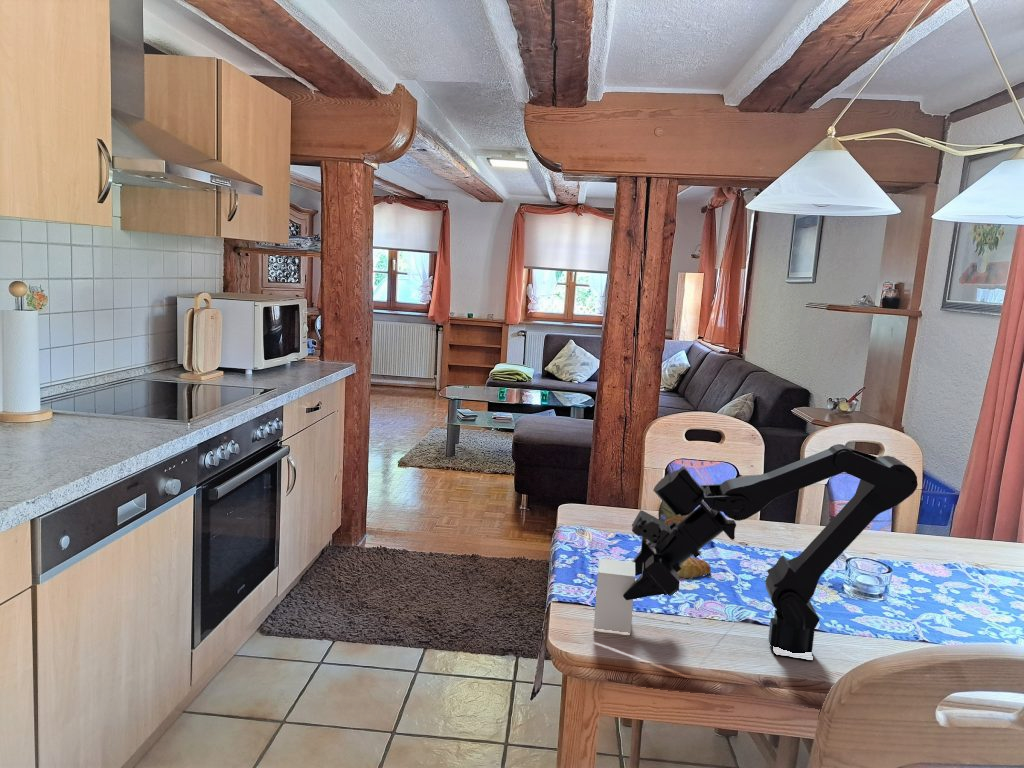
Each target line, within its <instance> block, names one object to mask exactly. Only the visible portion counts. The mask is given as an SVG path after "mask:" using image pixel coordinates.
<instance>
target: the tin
mask: <svg viewBox="0 0 1024 768" xmlns="http://www.w3.org/2000/svg"><path fill="white" fill-rule="evenodd" d="M692 512H693V511H692ZM692 512H691V513H692ZM688 515H689V514H688ZM688 515H686V516H684V515H683V516H681V515H680V514H679V515H675V514H674V513H673V512H672V511H671V510H670V509H669V507H668V506H667V505H666V504H665V503H664V502H663V501H662V500H661V502H660V504H659V507H658V514H657V516H658V519H659V520H661V521H662V522H664V523H665V524H667V525H669V524H670V523H671V522H673V521H674V522H675V521H677V522H678V523H679V522H680V521H682V520H683V519H684V518H685V517H687V516H688Z"/></svg>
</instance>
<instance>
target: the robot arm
mask: <svg viewBox="0 0 1024 768" xmlns="http://www.w3.org/2000/svg"><path fill="white" fill-rule="evenodd" d="M843 473H845V474H847V475H849V476H853V477H854V478H857V479H859V482H858V485H857V488H856V490H855V493H854V495H853V496H852V497H851V499H850V500H848V502H847V503H846V504H845V505H844V506H843V507H842V508H841V509H840V510H839V512H838V513H837V514H836V515H835V516H834V517H833V518H832V519H831V520H830V521H829V522H828V523H827V525H826V526H825V527H824V528H823V529H822V530H821V532H820V533H818V535H817V536H815V538H814V539H813V540H812V541H811V542H810V543H809V544H808V545H807V547H805V549H804V550H803V551H802V552H801V553H800V554H799V555H797V556H795V557H793V558H790V559H787V558H786V557H785V555H781V556H780V557H779V558H778V560H777V561H776V563H775V564H774V565H773V566H772V567H770V568H769V569H767V570H766V571H767V574H768V575H767V577H766V578H765V590H766V591H767V593H768V596H769V597H768V598H769V599H770V601H771V603H772V606H773V607H774V609H775V610H774V615H773V617H772V618H770V620H769V628H768V629H769V631H768V639H769V640H768V643H770V644H769V646H770V645H771V646H774V647H779V648H781V649H783V650H787V651H790V652H792V653H805V652H812V653H813V646H814V639H815V631H816V630H815V629H816V628H817V625H818V624H819V622H820V617H819V615H818V614H817V612H816V609H815V607H814V606H813V604H812V603H811V599H812V598H813V596H814V594H815V592H816V589H817V587H818V584H819V582H820V579H821V576H822V575H823V574H825V572H826V571H827V570H828V569H829V568H830V567H831V566H832V565H833V563H834V562H836V560H837V559H838V558H839V557H840V556H841V555H842V554H843V552H845V551H846V550H847V548H849V546H850V545H852V543H853V542H854V541H855V540H856V539H857V537H859V535H860V534H861V533H862V532H863V531H864V530H865V529H866V528H867V527H868V526H869V525H870V524H871V523H872V522H873V521H874V520H875V518H876V517H878V516H879V515H880V514H882V513H884V512H887V511H889V510H890V509H893V508H896V507H897V506H898V505H900V504H902V503H903V502H904V501H905V500H907V499H908V498H909V497H911V496H912V495H913V494H914V493H915V491H916V490H917V488H918V485H919V484H918V476H917V475H916V472H915V471H914V469H912V468H911V467H910V466H908V465H907V464H905V463H904V462H902V461H901V460H899V459H898V458H896V457H894V456H890V455H882V456H880V455H879V456H876V455H873V454H870V453H867V452H864V451H860V450H858V449H853V448H850V447H848V446H847V445H845V444H839V443H837V444H834V445H831V446H830V447H829V448H827V449H825V450H822V451H819V452H816V453H815V454H812V455H809V456H807V457H805V458H802V459H799V460H797V461H794V462H792V463H789V464H787V465H784V466H781V467H779V468H777V469H773V470H772V471H768V472H766V473H762V474H761V473H760V474H755V475H754V474H753V475H743V476H739V477H735V478H729V479H726V480H725V481H723V482H722V483H720V484H719V483H715V484H714V483H713V484H699V483H698V481H696V479H695V478H694V477H693V476H692V475H691V473H690V472H689V470H688V469H687V468H686V467H685V466H682V467H680V468H679V469H677V470H673V471H672V472H670V473H667V474H666V475H664V476H663V477H662V478H661V479H660V480H659V481H658V482H657V484H656V485H655V486H654V487H653V490H652V491H653V492H654V493H655V494H656V495H657V496H658V498H659V499H660V500H661V502H662V501H663V502H664V503H665V504H666V505H667V506H668V507H669V509H670V510H671V511H672V512H673V513H674V514H675V515H679V514H680V515H681V516H683V515H684V516H686V515H688V514H689V515H688V516H687V517H685V518H684V519H683V520H682V521H680V522H679V523H678V522H677V521H675V522H674V521H673V522H671V523H670V524H669V525H667V524H665V523H664V522H662V521H661V520H659V518H657V517H656V516H654V515H653V514H650V513H648V512H646V511H644V510H640V511H639V512H638V514H637V515H636V516H635V519H634V520H633V522H632V524H631V526H632V528H631V532H632V533H633V534H635V535H636V536H638V537H641V542H640V543H641V544H640V551H639V552H638V553H637V555H636V556H635V558H634V559H633V560H632V562H635V577H637V576H638V577H637V578H636V579H635V582H634V583H633V584H632V585H631V586H630V587H629V589H628V590H627V591H626V592H625V593H624V594H623V597H624V598H625V599H626V600H632V599H637V598H642V597H647V596H654V595H661V594H664V595H667V594H668V595H669V596H671V595H673V594H674V593H675V592H677V591H678V592H679V591H680V577H679V576H678V573H677V572H678V571H679V570H681V569H682V568H681V564H682V563H683V562H685V561H686V560H687V559H688V558H690V557H693V558H697V557H699V556H700V555H701V553H700V550H701V549H702V548H704V547H705V546H706V545H707V544H709V543H710V542H711V541H713V540H714V539H715V538H717V537H718V536H719V535H720V534H722V533H723V532H724V534H725V535H726V536H727V537H728V538H729V539H730V540H732V541H733V540H735V537H736V536H735V533H736V527H737V524H736V523H737V522H736V521H738V522H741V521H745V520H748V519H749V518H751V517H752V516H754V515H756V514H758V513H760V512H761V511H763V510H764V509H765V508H766V507H767V506H768V505H769V504H771V502H774V501H775V500H776V499H778V498H780V497H783V496H786V495H788V494H790V493H794V492H796V491H798V490H801V489H804V488H806V487H808V486H811V485H814V484H816V483H820V482H821V481H824V480H827V479H830V478H832V477H835V476H837V475H841V474H843ZM692 511H693V512H692ZM691 512H692V513H691ZM725 516H726V517H725ZM728 518H729V519H728ZM672 567H673V568H674V569H675V570H676V571H677V572H676V571H675V570H674V569H673V568H672ZM771 646H770V647H771Z"/></svg>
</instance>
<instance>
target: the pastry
mask: <svg viewBox="0 0 1024 768" xmlns="http://www.w3.org/2000/svg"><path fill="white" fill-rule="evenodd" d="M672 568H673V567H672ZM681 568H682V569H681V570H679V571H678V572H677V571H676V570H675V569H674V568H673V569H674V570H675V571H676V572H677V573H678V576H679V578H682V577H683V578H684V579H685V578H686V579H693V578H692V577H694V578H698V576H699V577H703V575H706V574H708V575H710V574H711V566H710V564H709V563H708V562H706V560H704V559H698V558H697V557H696V558H695V557H694V556H691V557H690V558H688V559H687V560H686V561H685V562H683V563H682V564H681ZM709 573H710V574H709Z"/></svg>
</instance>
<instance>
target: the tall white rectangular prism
mask: <svg viewBox="0 0 1024 768" xmlns="http://www.w3.org/2000/svg"><path fill="white" fill-rule="evenodd" d="M596 580H597V591H596V605H595V610H594V621H593V629H594V628H596V629H604V630H612V631H619V632H628V633H631V632H632V622H633V621H632V620H633V616H632V611H633V599H632V600H626V599H625V598H624V597H623V594H624V593H625V592H626V591H627V590H628V589H629V587H630V586H631V585H632V584H633V583H634V582H635V581H636V576H635V562H633V561H628V560H627V561H626V560H616V559H607V558H599V561H598V569H597V578H596ZM631 634H632V633H631Z"/></svg>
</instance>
